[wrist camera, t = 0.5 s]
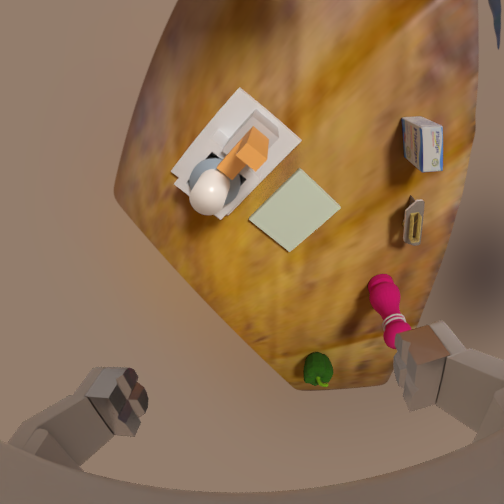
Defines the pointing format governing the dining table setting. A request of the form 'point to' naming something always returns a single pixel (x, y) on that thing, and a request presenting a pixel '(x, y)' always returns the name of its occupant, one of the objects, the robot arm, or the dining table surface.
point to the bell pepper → (317, 369)
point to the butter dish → (413, 222)
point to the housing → (228, 135)
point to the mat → (294, 210)
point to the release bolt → (246, 154)
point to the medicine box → (423, 143)
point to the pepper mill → (387, 307)
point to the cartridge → (211, 187)
